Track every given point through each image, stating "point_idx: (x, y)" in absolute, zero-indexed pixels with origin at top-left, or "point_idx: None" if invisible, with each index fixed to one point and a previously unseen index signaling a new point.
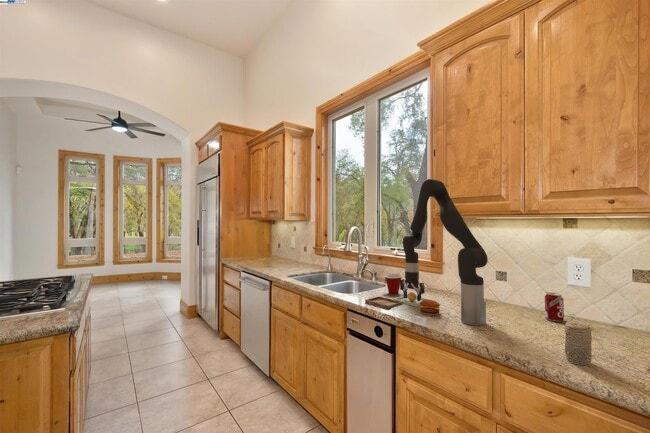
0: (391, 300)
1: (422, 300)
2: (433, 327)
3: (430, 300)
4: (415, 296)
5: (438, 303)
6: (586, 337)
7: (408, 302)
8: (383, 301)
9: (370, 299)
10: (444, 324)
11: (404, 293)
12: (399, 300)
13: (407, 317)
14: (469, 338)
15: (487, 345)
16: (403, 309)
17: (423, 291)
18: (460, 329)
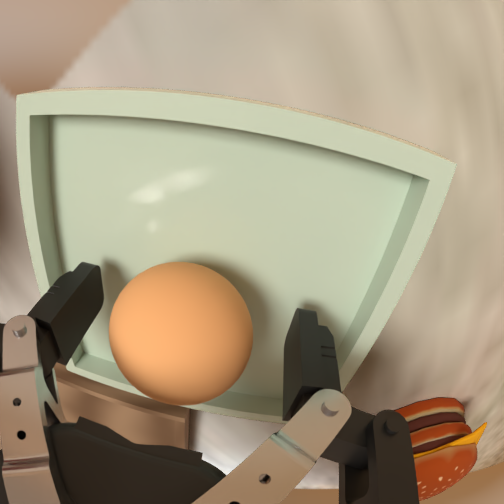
0: (86, 386)
1: (302, 160)
2: None
3: (429, 497)
4: (244, 368)
5: (471, 467)
6: None
7: (232, 416)
8: (62, 385)
9: None
10: None
11: (68, 348)
12: (132, 391)
13: (313, 480)
14: (480, 464)
15: (498, 461)
16: (248, 442)
17: (392, 450)
18: (483, 451)
